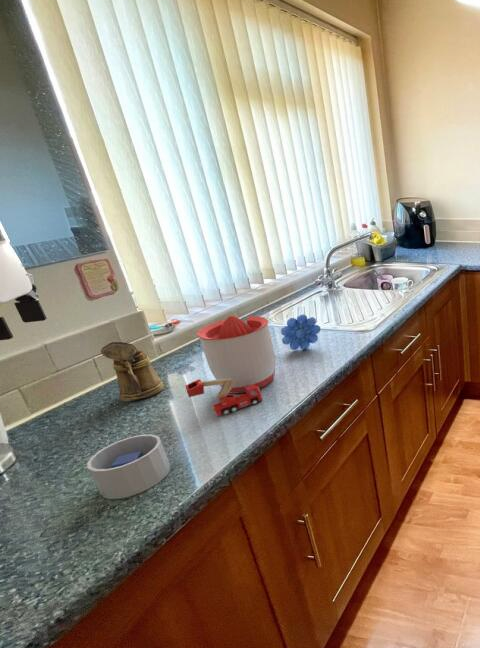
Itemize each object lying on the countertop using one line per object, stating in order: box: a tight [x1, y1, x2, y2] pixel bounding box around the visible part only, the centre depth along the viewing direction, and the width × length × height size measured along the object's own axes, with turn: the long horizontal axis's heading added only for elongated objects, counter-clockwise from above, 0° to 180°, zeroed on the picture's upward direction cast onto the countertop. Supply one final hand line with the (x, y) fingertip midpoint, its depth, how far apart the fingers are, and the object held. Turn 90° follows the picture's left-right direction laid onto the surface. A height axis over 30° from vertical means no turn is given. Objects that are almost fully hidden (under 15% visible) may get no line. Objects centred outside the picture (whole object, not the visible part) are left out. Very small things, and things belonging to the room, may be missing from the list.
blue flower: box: [280, 313, 321, 351], centre depth 130 cm, size 12×7×12 cm, turn 109°
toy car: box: [110, 451, 143, 468], centre depth 77 cm, size 7×3×4 cm, turn 113°
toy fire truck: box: [185, 378, 263, 417], centre depth 97 cm, size 3×14×10 cm, turn 134°
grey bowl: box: [86, 434, 172, 500], centre depth 76 cm, size 10×10×6 cm
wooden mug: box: [100, 341, 165, 402], centre depth 102 cm, size 9×14×18 cm, turn 35°
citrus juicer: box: [196, 315, 276, 394], centre depth 108 cm, size 16×17×20 cm
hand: (19, 329), depth 74 cm, fingers open, 9 cm apart
